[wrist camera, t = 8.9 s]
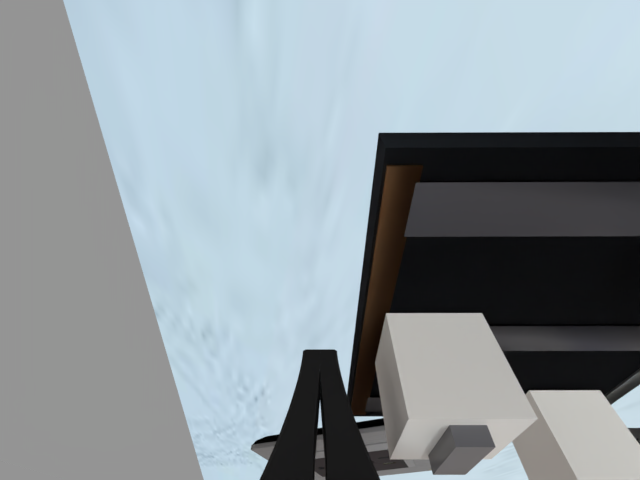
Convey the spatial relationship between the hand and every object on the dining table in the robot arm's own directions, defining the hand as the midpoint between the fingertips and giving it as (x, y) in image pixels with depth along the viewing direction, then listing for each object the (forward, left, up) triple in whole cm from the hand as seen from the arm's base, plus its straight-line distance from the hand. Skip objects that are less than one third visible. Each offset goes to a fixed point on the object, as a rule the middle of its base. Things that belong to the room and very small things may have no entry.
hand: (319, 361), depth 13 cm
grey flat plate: (+17, +3, -3) cm, 17 cm away
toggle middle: (0, +5, -1) cm, 5 cm away
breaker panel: (0, +10, -2) cm, 10 cm away
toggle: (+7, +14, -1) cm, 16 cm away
